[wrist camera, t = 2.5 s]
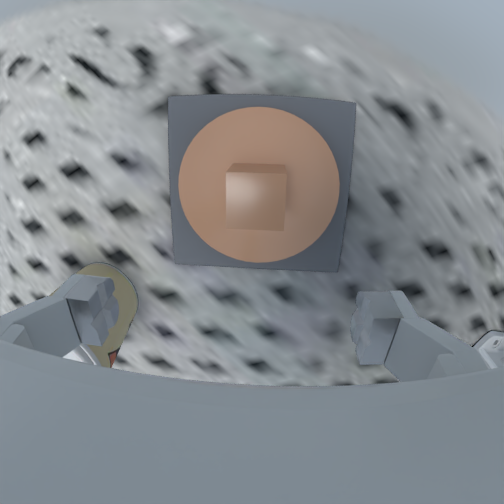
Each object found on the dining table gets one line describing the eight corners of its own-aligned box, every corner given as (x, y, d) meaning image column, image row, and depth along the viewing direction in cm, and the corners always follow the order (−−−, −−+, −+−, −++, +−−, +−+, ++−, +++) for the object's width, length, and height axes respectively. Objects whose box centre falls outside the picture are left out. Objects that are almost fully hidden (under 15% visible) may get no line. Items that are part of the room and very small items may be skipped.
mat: (354, 103, 23) (356, 102, 22) (336, 269, 29) (337, 272, 28) (170, 96, 23) (168, 96, 23) (176, 261, 30) (174, 263, 29)
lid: (343, 112, 23) (358, 112, 18) (329, 261, 28) (338, 289, 24) (179, 108, 23) (159, 107, 19) (185, 255, 29) (170, 281, 24)
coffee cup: (107, 337, 35) (63, 410, 24) (58, 276, 31) (-3, 338, 21) (162, 311, 32) (122, 397, 21) (109, 239, 29) (40, 306, 18)
